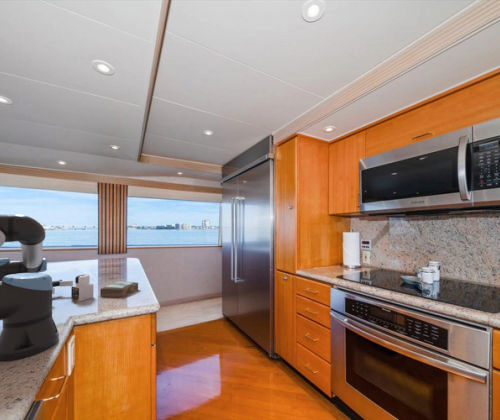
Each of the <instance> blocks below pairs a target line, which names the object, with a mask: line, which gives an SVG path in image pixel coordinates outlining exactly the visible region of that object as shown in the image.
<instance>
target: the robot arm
mask: <svg viewBox="0 0 500 420" xmlns="http://www.w3.org/2000/svg"><path fill="white" fill-rule="evenodd" d="M45 239H46V229H45V228H44V226H43V225H42V223H40V222H39V221H38V220H36V219H35V218H32V217H30V216H29V215H28V216H27V215H23V214H19V213H18V214H17V213H16V214H0V248H1V247H2V246H3V245H4V244H5V243H15V242H18V243H20V247H21V248H20V249H21V256H22V260H11V258H10V257H1V258H0V321H2V329H1V332H0V362H6V361H15V360H19V359H20V360H21V359H24V358H28V357H30V356H33V355H37V354H40V353H41V352H43V351H45V350H47V349H49V348H51V347H53V346H54V345H56V344H57V343H58V341H59V339H60V332H59V330H58V328H57V325H56V323H55V320H54V318H53V295H55V287H61V288H62V287H71V286H73V285H74V281H73V280H62V279H59V280H53V279H52V276H51V275H49V274H48V273H43V272H46V271H47V270H48V268H47V267H48V260H47V258H46V257H43V242H44V241H45Z"/></svg>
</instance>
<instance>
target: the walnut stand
mask: <svg viewBox="0 0 500 420" xmlns="http://www.w3.org/2000/svg"><path fill="white" fill-rule="evenodd" d="M138 290H139V283H138V282H136V281H135V282H134V281H116V282H114V283H111V284H108V285H105V286H103V287H101V288H100V297H109V298H111V297H112V298H123V297H125V295H126V296H127V295H129V294H131V293H134V292H136V291H138Z"/></svg>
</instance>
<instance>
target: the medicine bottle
mask: <svg viewBox="0 0 500 420" xmlns="http://www.w3.org/2000/svg"><path fill="white" fill-rule="evenodd" d="M90 279H91V278H90V274H81V275H80V274H79V275H77V276H75V279H74V283H75V285H74V284H73V286H70V287H71V294H70V295H71V300H72V301H75V302H83V301H86V300H88V299H90V300H91V299H93V298H94V284H93V283H90Z"/></svg>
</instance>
